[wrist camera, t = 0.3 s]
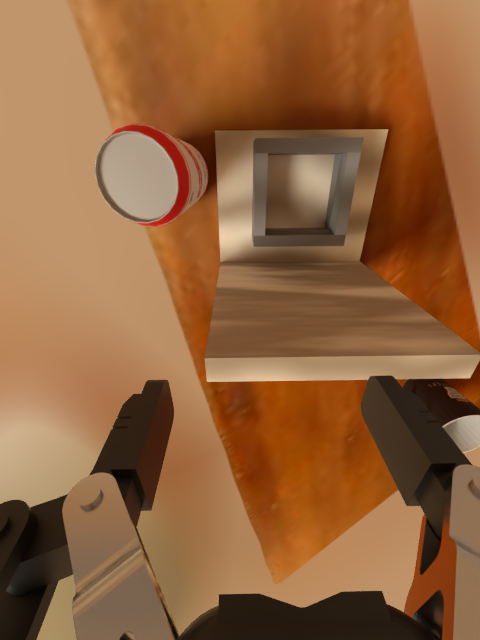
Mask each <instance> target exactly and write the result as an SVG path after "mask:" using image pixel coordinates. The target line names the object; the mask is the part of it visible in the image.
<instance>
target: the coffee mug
mask: <svg viewBox="0 0 480 640" xmlns="http://www.w3.org/2000/svg"><path fill="white" fill-rule="evenodd" d="M403 389H409V390H410V391H411V392H412V393H414V394H415V395H416V396H418V397H419V398H420V399H421V400H422V401H423V402H424V404H425V405H426V406H427V408H428V409H429V410H430V413H432V414H433V415H434V417H435V418H436V419H437V420H438V423H440V424H441V426H442V427H443V428H444V429H445V431H446V432H447V433H448V435H449V436H450V437H451V438H452V440H453V441H454V442H455V444H456V445H457V446H458V447H459V449H460V450H461V451H462V453H466V452H469V451H472V450H475V449H477V448H479V447H480V409H479V408H478V407H476V406H475V405H474V404H473V403H471V402H470V401H469V400H468V399H466V398H465V397H464V396H463V395H461V394H460V393H459V392H458V391H456V390H455V389H454V388H453V387H451V386H450V385H449V384H448V383H446V382H445V381H444V380H443V379H409V380H408V381H407V382H406V383H405V384H404V386H403Z"/></svg>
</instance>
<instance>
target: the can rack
mask: <svg viewBox="0 0 480 640" xmlns="http://www.w3.org/2000/svg"><path fill="white" fill-rule="evenodd" d="M387 133H388V129H351V130H215V146H216V169H217V192H218V215H219V238H220V261H221V263H220V269H219V275H218V281H217V287H216V293H215V299H214V306H213V312H212V318H211V324H210V330H209V336H208V342H207V348H206V354H205V366H206V377H207V382H227V381H301V380H368V379H369V377H370V376H386V375H391V376H393V377H394V378H395V379H450V378H470V377H471V375H472V374H473V372H474V370H475V368H476V366H477V364H478V363H479V361H480V352H479V351H477V350H476V349H475V348H473V347H472V346H471V345H469V344H468V343H467V342H465V341H464V340H463V339H461V338H460V337H459V336H457V335H456V334H455V333H454V332H452V331H451V330H450V329H448V328H447V327H446V326H444V325H443V324H442V323H440V322H439V321H438V320H436V319H435V318H434V317H433V316H431V315H430V314H429V313H427V312H426V311H425V310H423V309H422V308H421V307H419V306H418V305H417V304H415V303H414V302H413V301H411V300H410V299H409V298H408V297H406V296H405V295H404V294H402V293H401V292H400V291H398V290H397V289H396V288H394V287H393V286H392V285H390V284H389V283H388V282H386V281H385V280H384V279H383V278H381V277H380V276H379V275H377V274H376V273H375V272H373V271H372V270H371V269H369V268H368V267H367V266H365V265H364V264H363V263H361V262H360V257H361V253H362V248H363V244H364V239H365V234H366V230H367V225H368V221H369V216H370V211H371V207H372V202H373V198H374V193H375V188H376V184H377V179H378V175H379V170H380V165H381V161H382V156H383V152H384V147H385V143H386V138H387Z"/></svg>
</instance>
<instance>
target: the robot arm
mask: <svg viewBox="0 0 480 640" xmlns="http://www.w3.org/2000/svg"><path fill="white" fill-rule="evenodd" d="M361 411H362V415H363V418H364V420H365V422H366V424H367V426H368V428H369V431H370V433H371V435H372V437H373V439H374V441H375V443H376V445H377V447H378V449H379V451H380V453H381V455H382V457H383V459H384V461H385V463H386V465H387V467H388V469H389V471H390V473H391V475H392V477H393V479H394V481H395V483H396V485H397V487H398V489H399V491H400V493H401V495H402V497H403V499H404V501H405V503H406V505H407V506H421V508H422V509H423V512H424V513H425V514H424V516H423V519H422V525H421V532H420V539H419V546H418V553H417V560H416V567H415V574H414V579H413V583H412V586H411V588H410V590H409V593H408V596H407V600H406V604H405V609H404V612H402V611H400V610H398V609H396V608H394V607H392V606H390V605H387V604H386V602H385V599H384V596H383V593H382V591H361V592H360V591H357V592H340V593H338V594H336V595H333V596H331V597H329V598H326V599H324V600H322V601H319V602H318V603H315V604H313V605H310V606H308V607H305V608H300V607H296V606H294V605H291V604H288V603H285V602H282V601H279V600H276V599H273V598H270V597H267V596H264V595H261V594H223V595H219V606H217V607H214V608H212V609H210V610H208V611H207V612H205V613H204V614H202V615H200V616H199V617H198V618H197V619H196V620H194V621H193V622H192V623H191V624H190V625H189V626H188V627H187V628H186V629H185V630H184V632H183V633H182V634H181V635H180V636H179V634H178V631H177V629H176V626H175V623H174V621H173V618H172V615H171V613H170V610H169V608H168V605H167V603H166V600H165V598H164V595H163V593H162V591H161V588H160V586H159V583H158V581H157V578H156V575H155V573H154V570H153V568H152V565H151V563H150V560H149V557H148V555H147V552H146V549H145V547H144V544H143V541H142V539H141V536H140V534H139V531H138V528H137V523H138V519H139V516H140V512H141V511H144V510H146V511H147V510H151V509H152V505H153V501H154V497H155V493H156V489H157V485H158V481H159V477H160V473H161V469H162V464H163V460H164V456H165V452H166V448H167V444H168V440H169V436H170V432H171V428H172V424H173V418H174V407H173V402H172V397H171V392H170V387H169V383H168V380H148V381H147V382H146V384H145V386H144V389H143V391H142V394H133V395H132V396H131V397H130V398H129V399H128V400H127V401H126V402H125V403H124V404H123V406H122V408H121V410H120V412H119V415H118V418H117V419H116V421H115V423H114V425H113V429H112V430H111V432H110V434H109V436H108V438H107V440H106V443H105V445H104V447H103V449H102V451H101V453H100V455H99V457H98V460H97V462H96V464H95V466H94V469H93V470H92V472H91V473H90V475H89V476H88V477H86V478H84V479H82V480H81V481H80V482H78V483H77V484H76V485H75V486H74V487H73V488H72V490H71V491H70V492H69V493H68V494H67V495H65V496H62V497H60V498H57V499H54V500H51V501H48V502H45V503H42V504H39V505H36V506H33V507H31V508H30V507H29V506H28V505H27V504H26V503H25V502H24V501H21V500H11V501H7V502H4V503H2V504H0V640H36V639H37V636H38V634H39V631H40V628H41V626H42V623H43V621H44V618H45V615H46V613H47V610H48V607H49V605H50V602H51V599H52V597H53V594H54V592H55V589H56V586H57V583H58V581H59V580H61V579H63V578H66V577H68V576H70V575H72V574H73V575H74V581H75V587H76V595H75V597H74V598H73V602H72V611H73V620H74V626H75V632H76V638H77V640H480V467H477V466H474V465H472V464H471V463H470V462H469V460H468V459H467V458H466V457H465V455H464V454H463V453H462V451H461V450H460V449H459V447H458V446H457V445H456V444H455V442H454V441H453V440H452V438H451V437H450V436H449V435H448V433H447V432H446V431H445V429H444V428H443V427H442V426H441V424H440V423H438V420H437V419H436V418H435V417H434V415H433V414H432V413H430V410H429V409H428V408H427V406H426V405H425V404H424V402H423V401H422V400H421V399H420V398H419V397H418V396H416V395H415V394H414V393H412V392H411V391H410V390H409V389H402V387H401V386H400V384H399V383H398V382H397V380H396V379H395V378H394V377H393V376H391V375H386V376H370V377H369V379H368V383H367V386H366V389H365V393H364V396H363V399H362V403H361Z"/></svg>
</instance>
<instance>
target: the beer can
mask: <svg viewBox="0 0 480 640" xmlns="http://www.w3.org/2000/svg"><path fill="white" fill-rule="evenodd" d="M94 171H95V177H96V182H97V186H98V188H99V190H100V192H101V195H102V197H103V199H104V200H105V201H106V202H107V204H108V205H109V206H110V207H111V209H112V210H113V211H115V212H116V213H118V214H119V215H120V216H122V217H123V218H125V219H128V220H130V221H132V222H135V223H138V224H140V225H143V226H160V225H164V224H167V223H170V222H172V221H173V220H175V219H176V218H177V217H179V216H180V215H181V214H182V213H184V212H185V211H186V210H187V209H188V208H190V207H191V206H192V205H193V204H194V203H195V202H197V201H198V200H199V199H200V198H201V197H202V195H203V194H204V193H205V191H206V188H207V185H208V168H207V164H206V161H205V160H204V158H203V156H202V155H201V153H200V152H199V151H198V150H197V149H196V148H195V147H194V146H193V145H190V144H188V143H186V142H184V141H182V140H180V139H178V138H176V137H174V136H172V135H170V134H167V133H165V132H163V131H161V130H159V129H157V128H154V127H152V126H150V125H141V124H130V125H127V126H124V127H121V128H118V129H117V130H116V131H115V132H114V133H112V134H111V135H110V136H109V137H108V138H107V139H106V140H105V142H103V143H102V145H101V147H100V149H99V151H98V153H97V155H96V161H95V170H94Z"/></svg>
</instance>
